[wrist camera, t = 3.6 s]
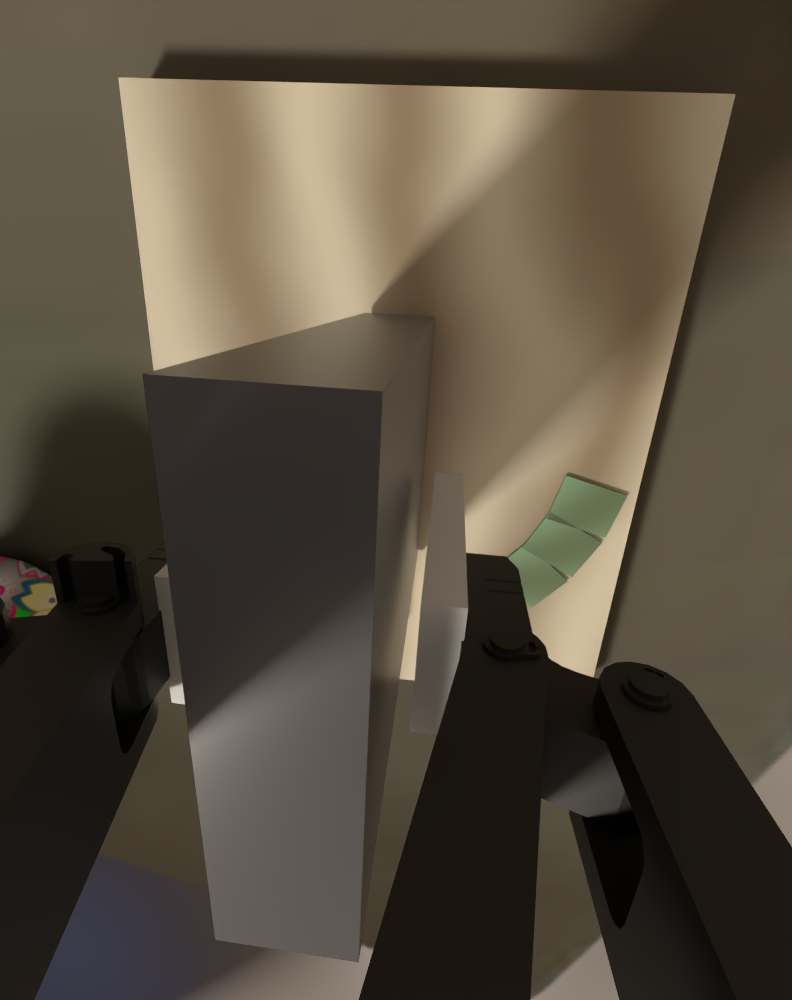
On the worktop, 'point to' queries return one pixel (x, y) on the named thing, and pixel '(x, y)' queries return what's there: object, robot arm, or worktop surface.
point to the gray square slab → (293, 608)
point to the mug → (25, 589)
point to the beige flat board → (451, 282)
